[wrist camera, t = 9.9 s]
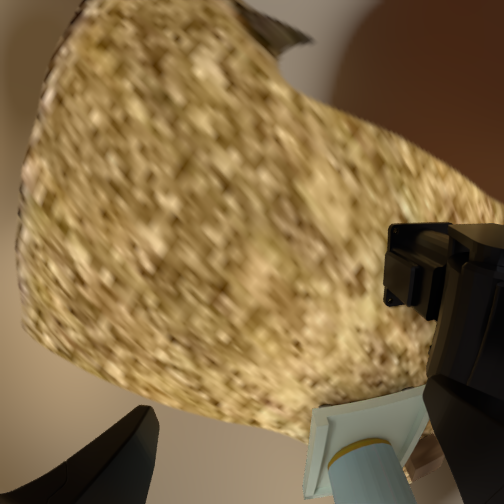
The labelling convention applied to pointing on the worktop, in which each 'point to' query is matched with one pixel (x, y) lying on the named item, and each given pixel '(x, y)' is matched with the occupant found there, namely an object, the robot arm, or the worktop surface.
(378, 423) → the tray
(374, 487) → the bottle
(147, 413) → the robot arm
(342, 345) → the worktop surface
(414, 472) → the walnut block
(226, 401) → the worktop surface
